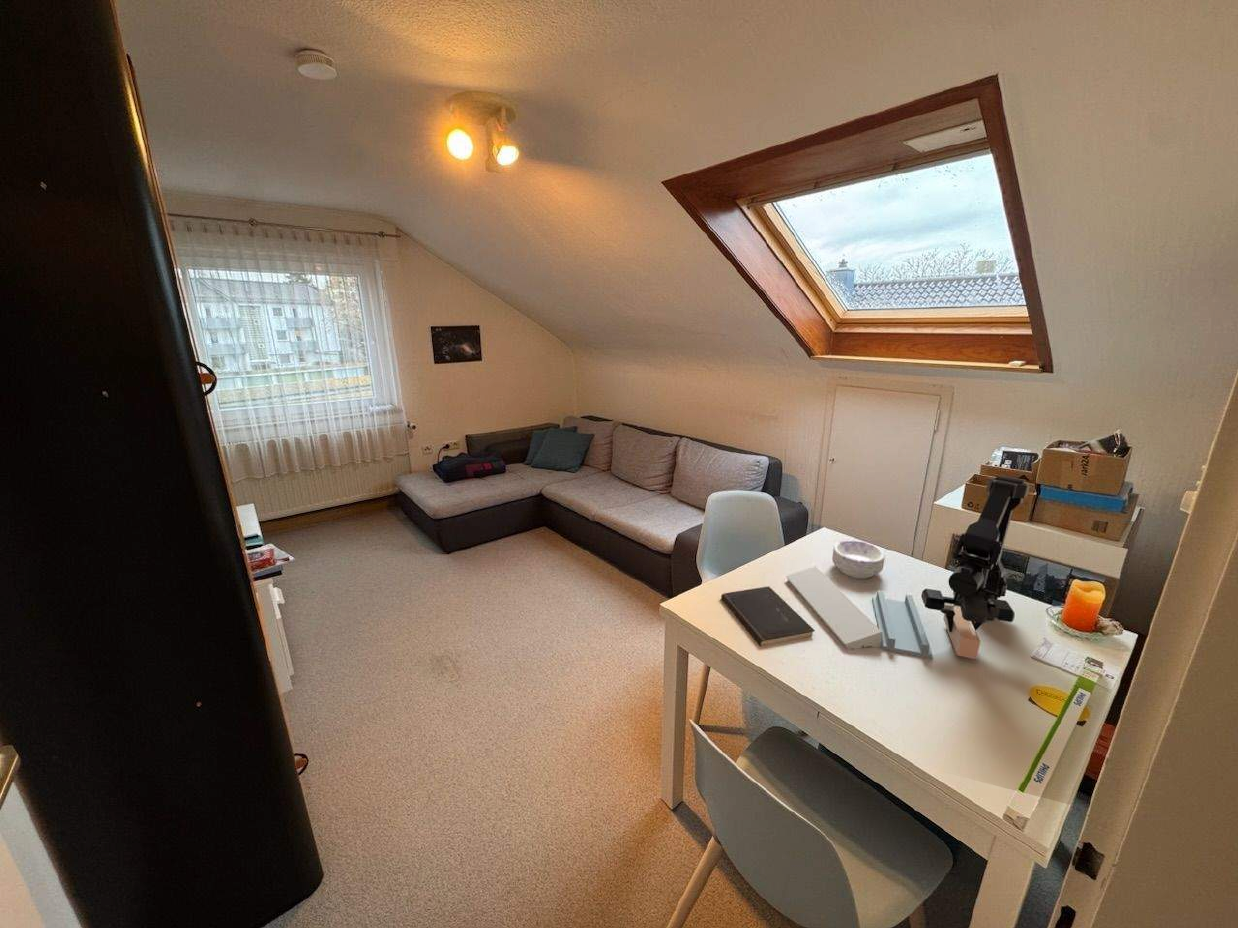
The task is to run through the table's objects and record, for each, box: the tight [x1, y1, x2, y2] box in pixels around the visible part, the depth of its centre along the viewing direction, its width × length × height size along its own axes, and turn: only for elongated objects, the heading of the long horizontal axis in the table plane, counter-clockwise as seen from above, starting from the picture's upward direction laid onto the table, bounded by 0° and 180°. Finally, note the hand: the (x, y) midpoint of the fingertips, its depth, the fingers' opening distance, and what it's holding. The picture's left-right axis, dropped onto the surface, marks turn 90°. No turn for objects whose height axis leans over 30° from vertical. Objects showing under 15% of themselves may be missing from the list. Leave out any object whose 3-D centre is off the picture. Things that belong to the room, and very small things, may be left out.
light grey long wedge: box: [785, 566, 884, 650], centre depth 144 cm, size 34×5×10 cm
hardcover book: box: [720, 586, 815, 647], centre depth 142 cm, size 16×23×2 cm
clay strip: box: [943, 606, 981, 660], centre depth 128 cm, size 4×16×5 cm, turn 159°
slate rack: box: [871, 589, 933, 659], centre depth 136 cm, size 11×24×4 cm, turn 160°
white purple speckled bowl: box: [831, 539, 886, 579], centre depth 164 cm, size 15×15×8 cm
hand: (959, 633), depth 129 cm, fingers closed on clay strip, 4 cm apart
